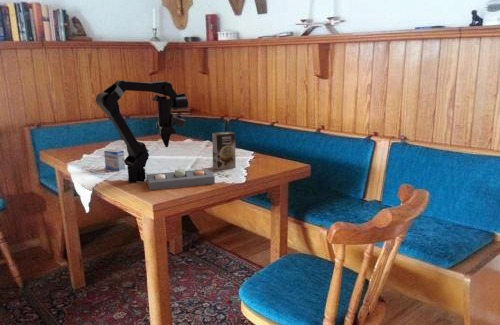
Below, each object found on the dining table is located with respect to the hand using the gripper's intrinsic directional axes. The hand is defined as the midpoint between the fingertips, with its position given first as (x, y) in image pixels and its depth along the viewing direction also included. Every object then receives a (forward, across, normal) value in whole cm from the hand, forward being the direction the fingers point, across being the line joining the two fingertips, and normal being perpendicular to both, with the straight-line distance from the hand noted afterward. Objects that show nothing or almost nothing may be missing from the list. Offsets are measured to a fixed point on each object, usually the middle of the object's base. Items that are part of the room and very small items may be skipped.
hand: (166, 146), depth 185 cm
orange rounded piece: (+11, -15, -11) cm, 22 cm away
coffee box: (+12, +2, -26) cm, 29 cm away
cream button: (+11, -15, +5) cm, 19 cm away
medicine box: (+12, +16, +22) cm, 30 cm away
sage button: (+10, -15, -3) cm, 18 cm away
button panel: (+12, -15, -3) cm, 19 cm away
